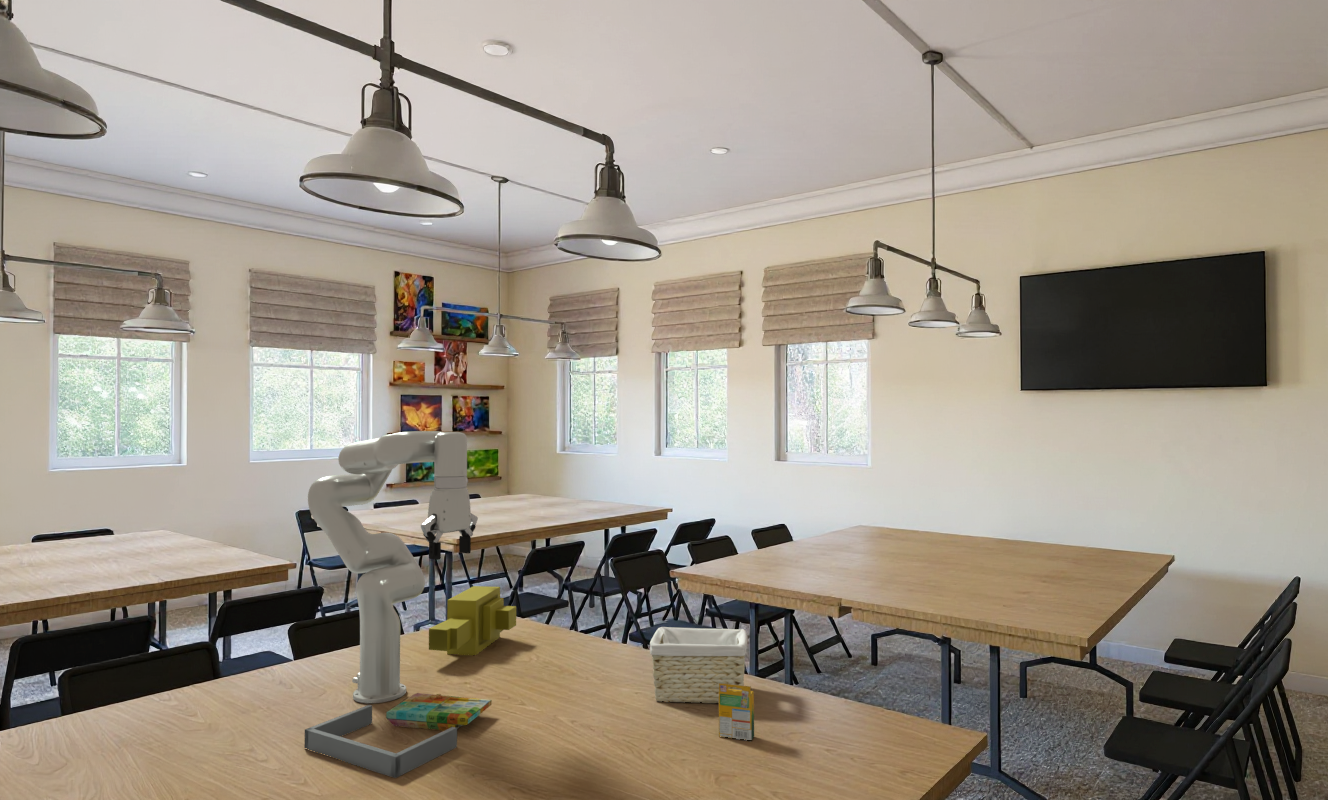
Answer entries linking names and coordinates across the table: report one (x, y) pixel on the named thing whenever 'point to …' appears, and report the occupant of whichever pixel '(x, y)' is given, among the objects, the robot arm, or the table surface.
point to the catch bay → (369, 757)
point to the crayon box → (736, 712)
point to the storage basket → (696, 662)
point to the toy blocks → (472, 621)
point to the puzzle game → (436, 711)
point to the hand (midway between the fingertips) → (450, 555)
